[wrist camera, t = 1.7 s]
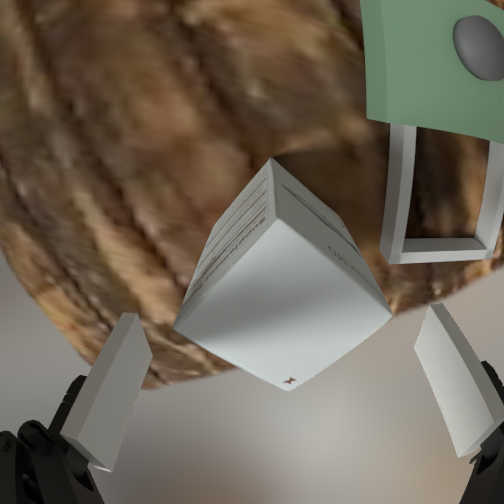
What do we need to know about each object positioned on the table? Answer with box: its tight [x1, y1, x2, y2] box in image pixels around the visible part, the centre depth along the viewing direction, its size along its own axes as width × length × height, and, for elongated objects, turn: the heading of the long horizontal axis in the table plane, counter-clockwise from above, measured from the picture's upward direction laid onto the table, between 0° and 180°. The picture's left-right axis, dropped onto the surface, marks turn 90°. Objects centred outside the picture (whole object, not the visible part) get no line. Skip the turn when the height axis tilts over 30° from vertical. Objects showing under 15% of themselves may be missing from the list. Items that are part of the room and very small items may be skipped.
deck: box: [360, 0, 504, 264], centre depth 16 cm, size 23×16×5 cm
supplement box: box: [173, 158, 393, 392], centre depth 18 cm, size 7×7×13 cm
